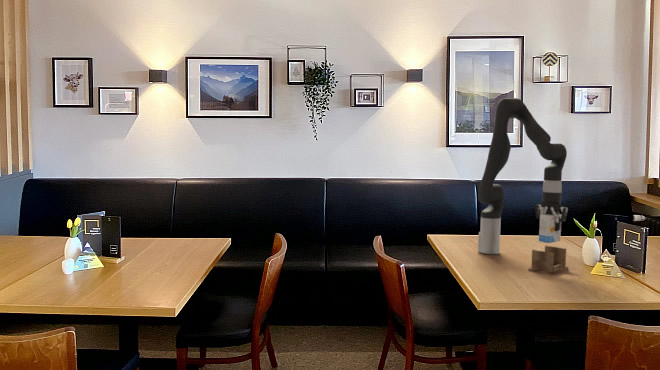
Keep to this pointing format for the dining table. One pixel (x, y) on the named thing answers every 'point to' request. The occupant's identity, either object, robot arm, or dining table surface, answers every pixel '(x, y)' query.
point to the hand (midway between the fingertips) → (550, 229)
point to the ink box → (548, 228)
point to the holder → (549, 260)
